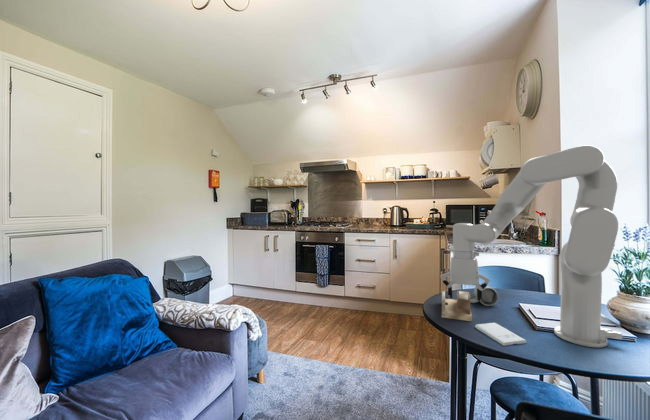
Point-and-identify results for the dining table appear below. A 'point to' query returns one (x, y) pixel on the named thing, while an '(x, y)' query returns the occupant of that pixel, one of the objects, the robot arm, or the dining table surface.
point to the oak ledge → (453, 309)
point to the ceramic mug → (485, 296)
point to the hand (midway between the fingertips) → (464, 298)
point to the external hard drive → (500, 334)
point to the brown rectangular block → (463, 302)
